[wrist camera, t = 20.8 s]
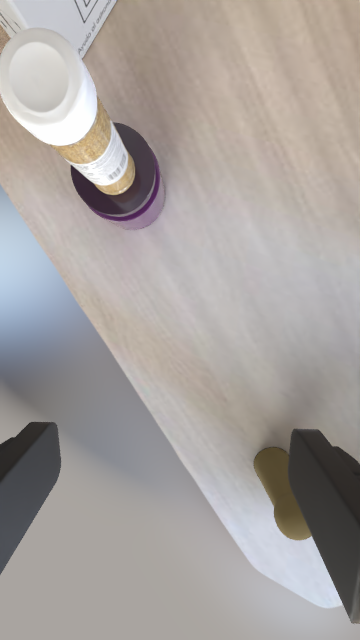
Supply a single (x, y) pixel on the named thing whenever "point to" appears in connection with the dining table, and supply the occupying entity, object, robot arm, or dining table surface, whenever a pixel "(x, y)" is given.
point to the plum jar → (139, 199)
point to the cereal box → (57, 18)
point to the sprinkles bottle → (63, 107)
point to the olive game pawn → (281, 492)
